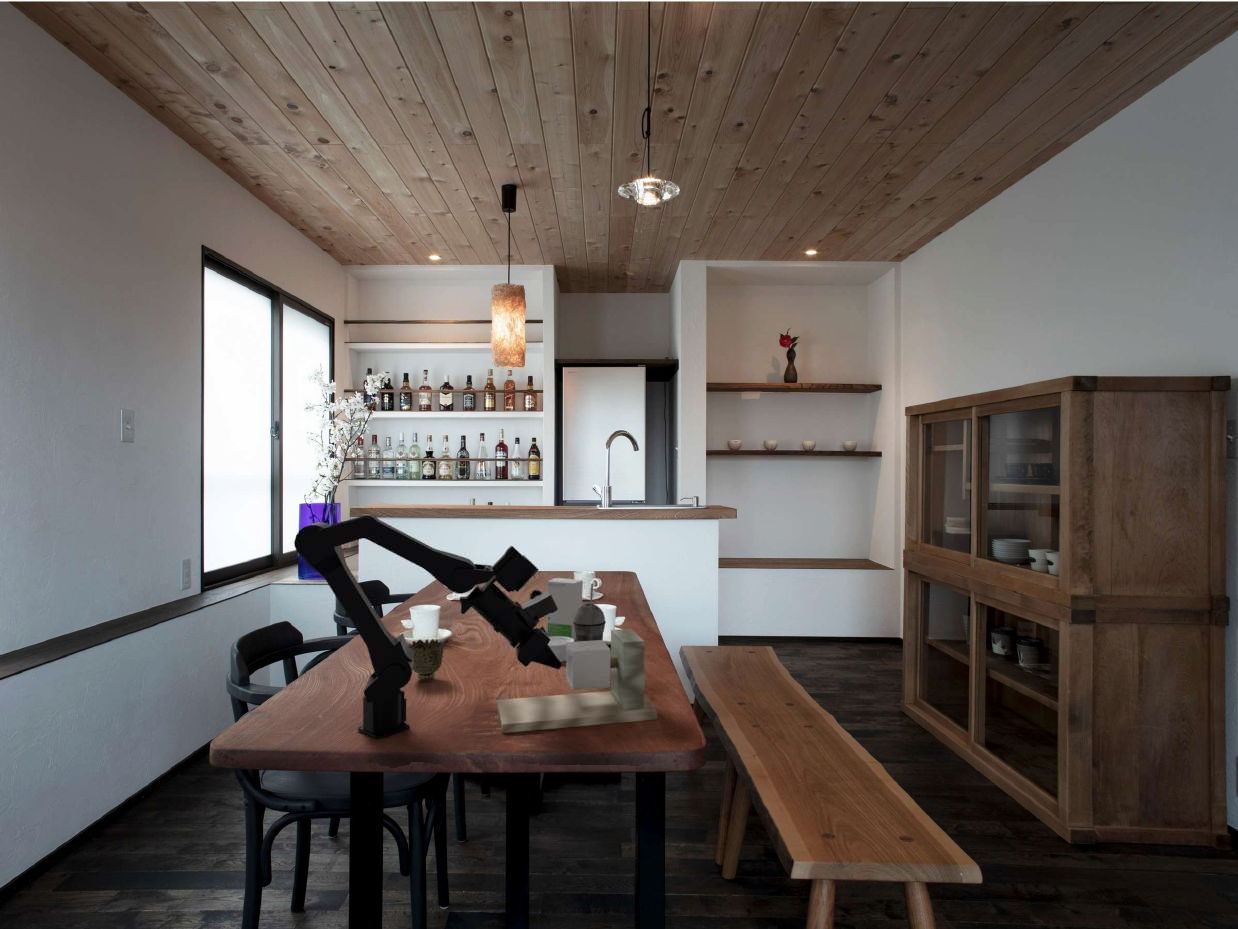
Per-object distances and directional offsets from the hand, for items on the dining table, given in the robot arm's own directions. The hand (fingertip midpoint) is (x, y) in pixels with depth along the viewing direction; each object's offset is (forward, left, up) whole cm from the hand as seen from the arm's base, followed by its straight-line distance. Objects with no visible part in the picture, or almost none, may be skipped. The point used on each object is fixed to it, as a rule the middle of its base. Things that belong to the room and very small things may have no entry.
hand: (560, 667), depth 128 cm
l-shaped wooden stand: (+2, -2, -9) cm, 9 cm away
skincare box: (+43, +39, -9) cm, 59 cm away
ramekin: (+27, +27, -9) cm, 40 cm away
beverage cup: (+22, +12, -9) cm, 27 cm away
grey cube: (+4, -3, -3) cm, 6 cm away
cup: (-3, +37, -9) cm, 38 cm away
